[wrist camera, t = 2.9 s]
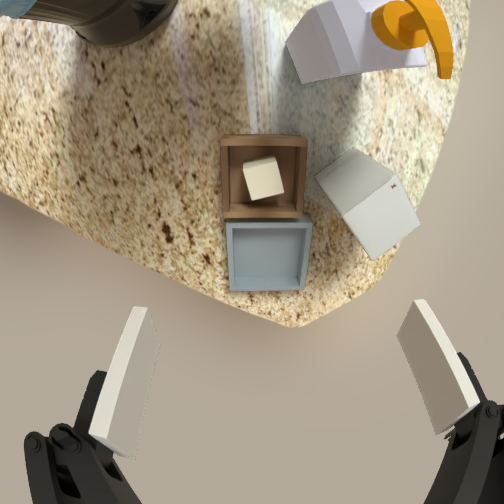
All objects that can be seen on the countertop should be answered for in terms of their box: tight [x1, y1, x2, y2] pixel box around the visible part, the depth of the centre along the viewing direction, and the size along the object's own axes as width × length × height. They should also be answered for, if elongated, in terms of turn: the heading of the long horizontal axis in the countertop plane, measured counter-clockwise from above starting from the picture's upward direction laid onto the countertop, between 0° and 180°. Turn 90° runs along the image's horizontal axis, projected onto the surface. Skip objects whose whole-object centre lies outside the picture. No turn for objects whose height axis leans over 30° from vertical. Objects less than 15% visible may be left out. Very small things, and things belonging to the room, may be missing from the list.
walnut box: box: [220, 134, 308, 218], centre depth 33 cm, size 10×10×4 cm
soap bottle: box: [285, 0, 453, 84], centre depth 17 cm, size 9×7×23 cm
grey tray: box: [226, 214, 313, 291], centre depth 40 cm, size 12×12×3 cm
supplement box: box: [314, 147, 420, 260], centre depth 30 cm, size 7×7×13 cm
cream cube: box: [243, 154, 284, 200], centre depth 33 cm, size 4×4×4 cm
